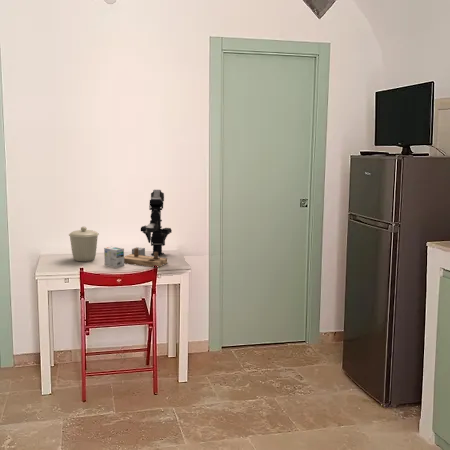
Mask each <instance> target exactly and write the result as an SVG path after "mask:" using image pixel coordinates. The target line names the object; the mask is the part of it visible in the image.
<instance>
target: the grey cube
mask: <svg viewBox="0 0 450 450" xmlns="http://www.w3.org/2000/svg"><path fill="white" fill-rule="evenodd" d="M134 248H138V255H143V256H146V247H137V246H136V247H134ZM134 248H131V254H134Z"/></svg>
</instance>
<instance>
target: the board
mask: <svg viewBox="0 0 450 450" xmlns="http://www.w3.org/2000/svg"><path fill="white" fill-rule="evenodd" d="M127 263H128V264H129V265H134V264H136V266H142V265H143V266H144V267H151V268H154V267H153V266H154V265H157V266H158V268H160V267H162V266H161V265H163V264H165V265H167V264H168V258H167V257H166V258H165V257H159V256H158V260H156V259H154V256H151V255H150V256H149V255H145V256H143V255H138V248H136V247H134V254H132V253H130V254H128V255H124V264H127ZM166 263H167V264H166ZM159 266H160V267H159ZM163 266H164V265H163Z"/></svg>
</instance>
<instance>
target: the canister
mask: <svg viewBox="0 0 450 450" xmlns="http://www.w3.org/2000/svg"><path fill="white" fill-rule="evenodd" d="M99 235H100V234H99V233H98V232H97V231H95V230H92V229H87V227H86V226H81V227H80V229H77V230H73V231H71V232H70V233H68V236H69V239H70V247H71V253H72V258H73V260H74V261H76V262H91V261H93V260H94V259H96V255H97V248H98V247H97V246H98V236H99Z"/></svg>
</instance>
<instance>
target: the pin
mask: <svg viewBox="0 0 450 450" xmlns="http://www.w3.org/2000/svg"><path fill="white" fill-rule="evenodd" d="M153 257H154V259H156V260H158V257H159V255H158V252H154V255H153Z"/></svg>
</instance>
